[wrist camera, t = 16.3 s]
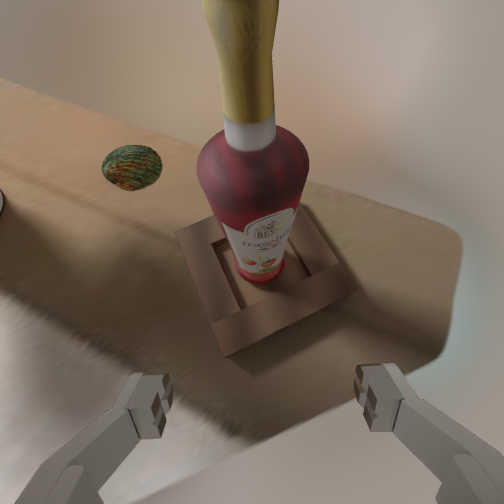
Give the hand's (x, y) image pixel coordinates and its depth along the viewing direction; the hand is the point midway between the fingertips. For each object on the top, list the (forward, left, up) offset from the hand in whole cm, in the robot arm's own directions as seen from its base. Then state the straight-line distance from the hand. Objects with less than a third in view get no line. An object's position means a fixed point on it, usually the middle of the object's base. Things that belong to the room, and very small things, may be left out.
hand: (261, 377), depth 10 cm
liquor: (+5, +11, -19) cm, 23 cm away
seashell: (-7, +38, -22) cm, 45 cm away
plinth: (+5, +11, -21) cm, 25 cm away
